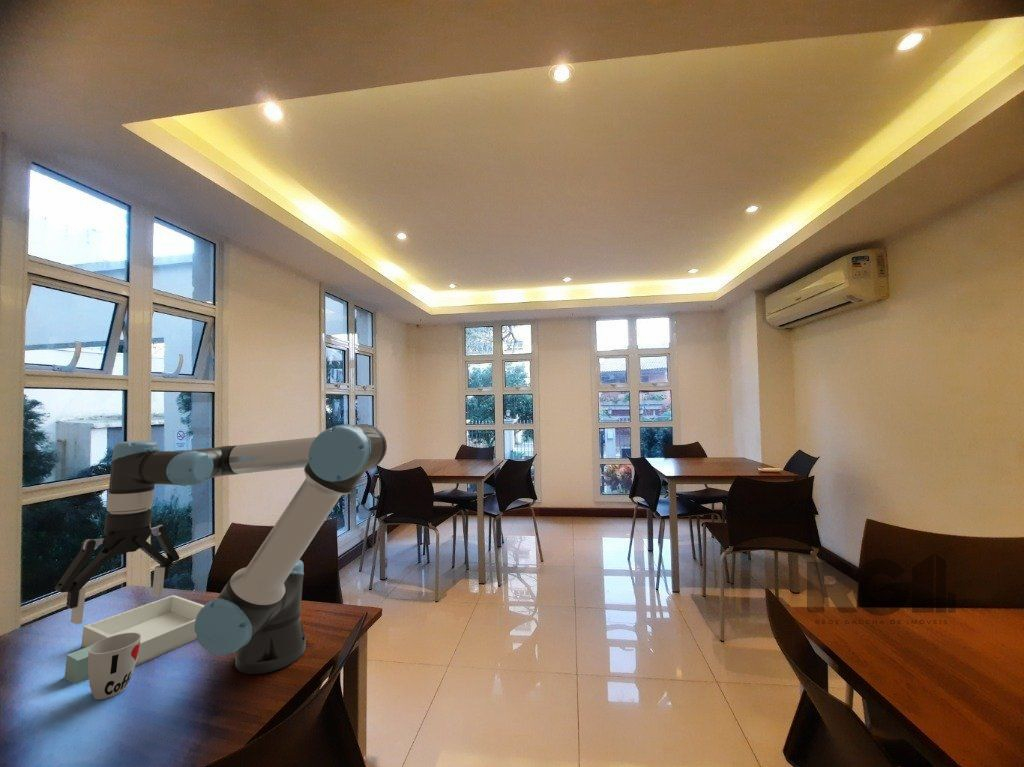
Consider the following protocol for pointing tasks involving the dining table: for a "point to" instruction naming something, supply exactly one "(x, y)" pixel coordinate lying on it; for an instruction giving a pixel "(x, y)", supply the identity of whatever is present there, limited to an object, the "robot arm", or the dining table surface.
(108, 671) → the cup
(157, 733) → the dining table surface
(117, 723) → the dining table surface
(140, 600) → the dining table surface
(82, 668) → the cube
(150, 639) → the tote
